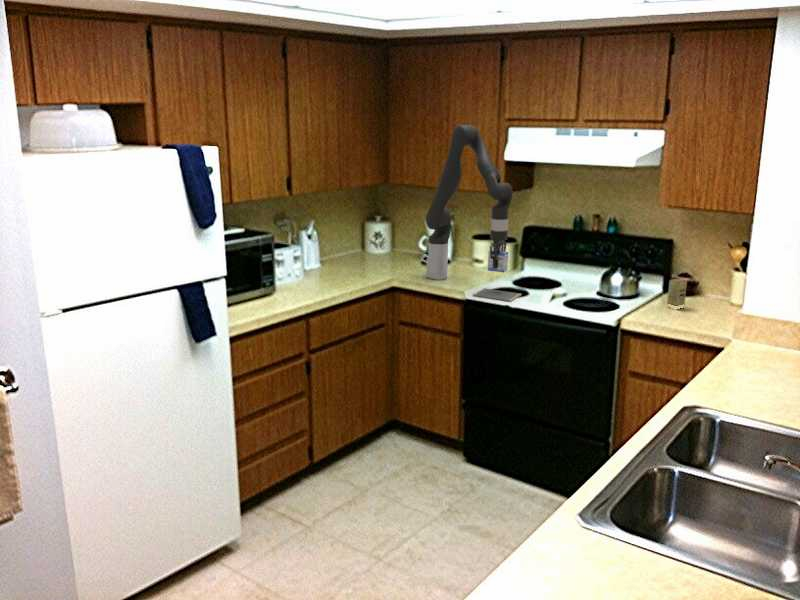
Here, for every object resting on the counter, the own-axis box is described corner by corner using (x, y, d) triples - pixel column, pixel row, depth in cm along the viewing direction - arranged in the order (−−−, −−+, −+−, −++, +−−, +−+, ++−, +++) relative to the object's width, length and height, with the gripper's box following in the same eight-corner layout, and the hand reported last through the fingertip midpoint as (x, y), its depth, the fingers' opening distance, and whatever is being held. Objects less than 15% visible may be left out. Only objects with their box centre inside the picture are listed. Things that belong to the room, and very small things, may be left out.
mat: (472, 296, 334) (472, 294, 334) (484, 289, 345) (484, 288, 345) (510, 302, 325) (510, 300, 325) (521, 295, 336) (521, 293, 336)
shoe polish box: (666, 307, 320) (669, 279, 317) (674, 305, 323) (677, 278, 320) (676, 310, 317) (679, 282, 313) (683, 308, 319) (687, 280, 316)
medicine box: (487, 270, 336) (488, 251, 334) (491, 268, 340) (491, 249, 338) (504, 272, 333) (505, 253, 330) (507, 270, 337) (508, 251, 334)
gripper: (497, 225, 339) (495, 262, 344) (484, 230, 327) (483, 268, 332) (513, 227, 336) (511, 264, 340) (501, 232, 324) (499, 271, 328)
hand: (497, 266), depth 336 cm, fingers closed on medicine box, 4 cm apart
